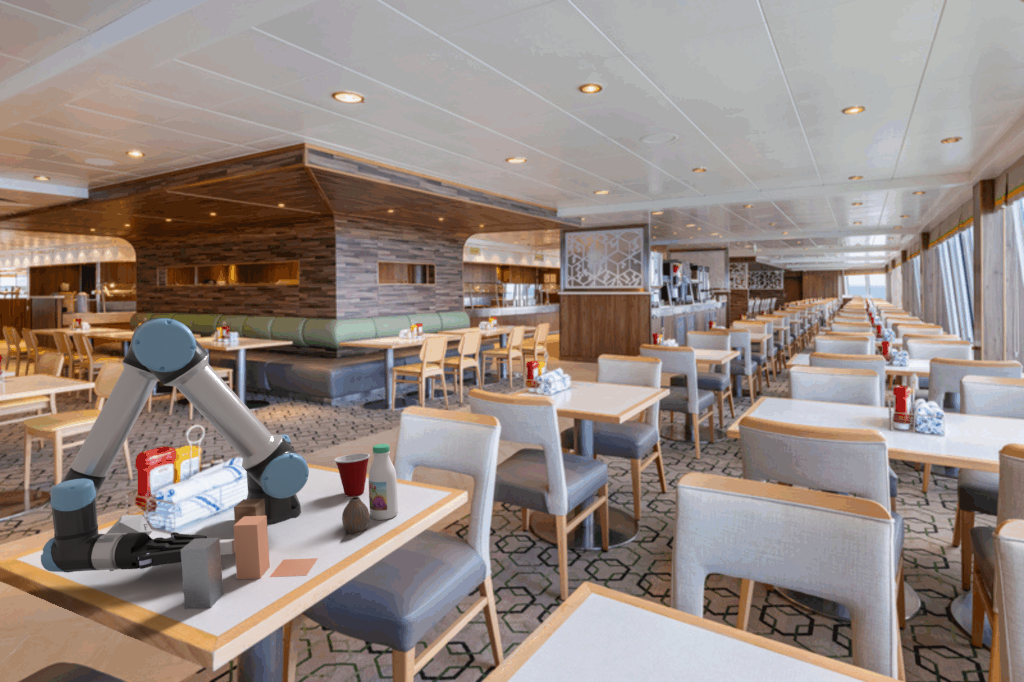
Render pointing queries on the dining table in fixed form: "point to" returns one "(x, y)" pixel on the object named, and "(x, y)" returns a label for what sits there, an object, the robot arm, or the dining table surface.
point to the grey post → (201, 573)
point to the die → (130, 525)
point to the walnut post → (249, 508)
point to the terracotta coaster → (294, 567)
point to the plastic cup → (353, 472)
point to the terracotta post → (251, 547)
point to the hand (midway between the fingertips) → (233, 546)
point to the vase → (355, 516)
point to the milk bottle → (382, 485)
